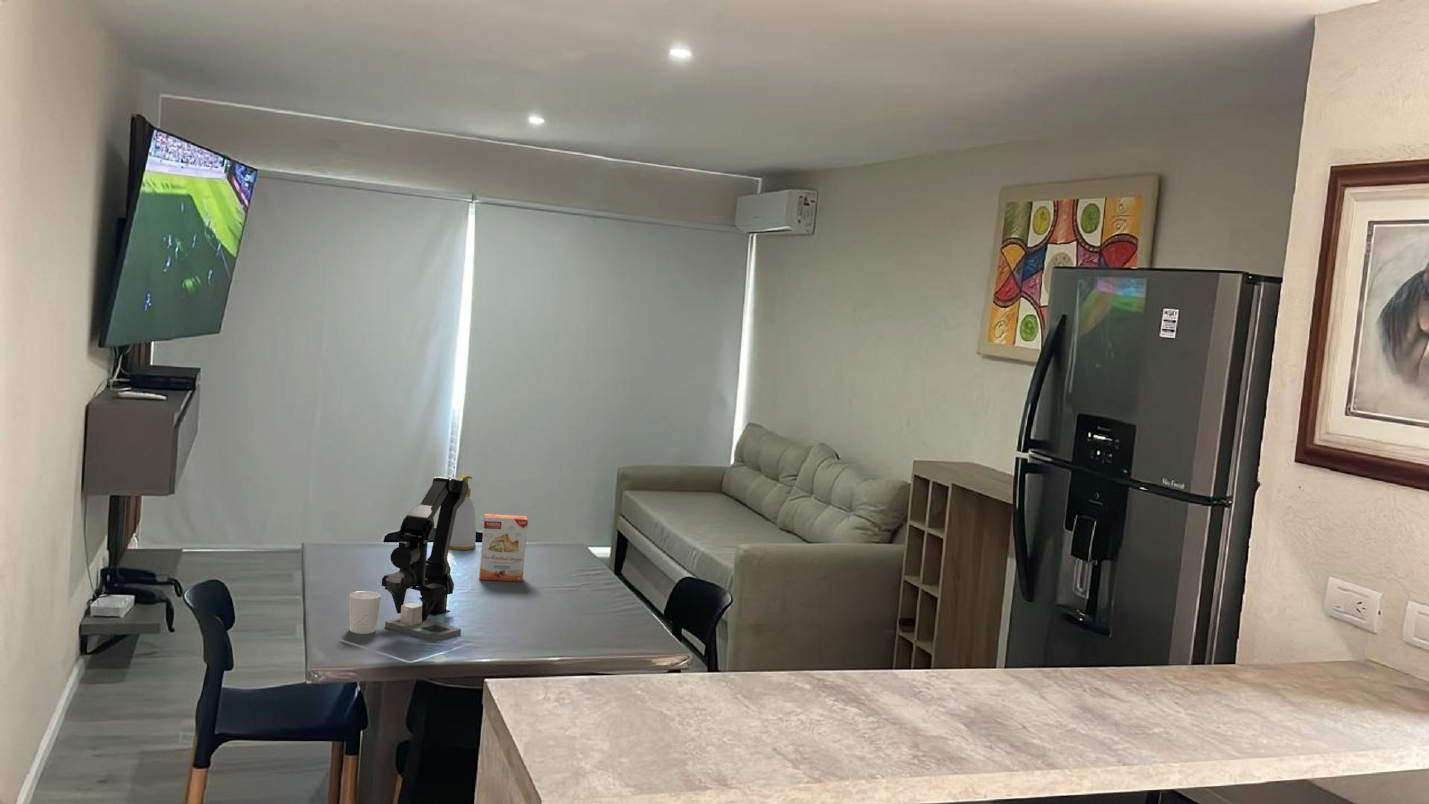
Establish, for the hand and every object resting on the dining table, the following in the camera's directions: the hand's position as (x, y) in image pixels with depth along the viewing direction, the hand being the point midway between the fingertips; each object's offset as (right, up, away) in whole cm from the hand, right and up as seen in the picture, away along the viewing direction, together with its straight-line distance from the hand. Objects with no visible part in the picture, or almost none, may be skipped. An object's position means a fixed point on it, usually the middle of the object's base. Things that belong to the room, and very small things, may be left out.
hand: (411, 616), depth 308 cm
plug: (0, -3, 0) cm, 3 cm away
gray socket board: (+4, -4, -2) cm, 6 cm away
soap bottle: (-10, +6, +101) cm, 102 cm away
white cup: (-11, -3, -6) cm, 13 cm away
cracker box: (+13, 0, +62) cm, 63 cm away
